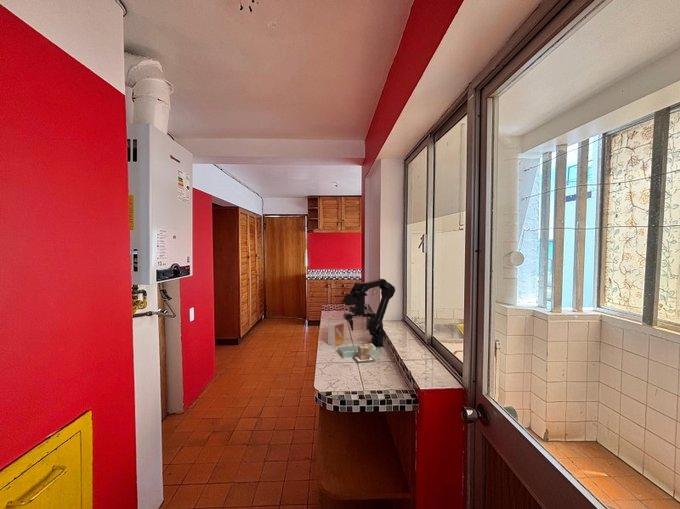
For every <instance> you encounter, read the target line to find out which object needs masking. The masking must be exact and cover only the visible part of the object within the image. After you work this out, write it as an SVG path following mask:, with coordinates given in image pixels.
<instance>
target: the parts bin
mask: <svg viewBox="0 0 680 509" xmlns="http://www.w3.org/2000/svg"><path fill="white" fill-rule="evenodd" d="M358 346H364V344H361V345H350V346H349V345H348V346H339V347H337V352H338V355H340V356H341V357H342V358H345V357H346V358H353V357H356V356H358ZM375 355H380V349H379V347H376V350H370V356H375Z"/></svg>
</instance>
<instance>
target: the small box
mask: <svg viewBox="0 0 680 509" xmlns="http://www.w3.org/2000/svg"><path fill="white" fill-rule="evenodd" d="M344 328H345V323H343V322H341V321H335V322H331V323H328V324H327V344H328V346H329V345H330V346H333V347H337V346H340V345H343V344H344V339H345V338H344V336H345V335H344V334H345V329H344Z"/></svg>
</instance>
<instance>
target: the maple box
mask: <svg viewBox="0 0 680 509" xmlns="http://www.w3.org/2000/svg"><path fill="white" fill-rule="evenodd" d="M363 345H364V346H366V345H367V346H368V347H369V348H370V350H376V348H377V347H375V346H374V345H373V344H372V343H371V342H370V343H363Z"/></svg>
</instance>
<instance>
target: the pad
mask: <svg viewBox="0 0 680 509" xmlns="http://www.w3.org/2000/svg"><path fill="white" fill-rule="evenodd" d="M352 360H353V361H355V363H357V364H366V363H367V364H368V363H376V359H375V358H373V357H372V355H370V359H369V360H360V359H359V358H358V356H356V357H352Z"/></svg>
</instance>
